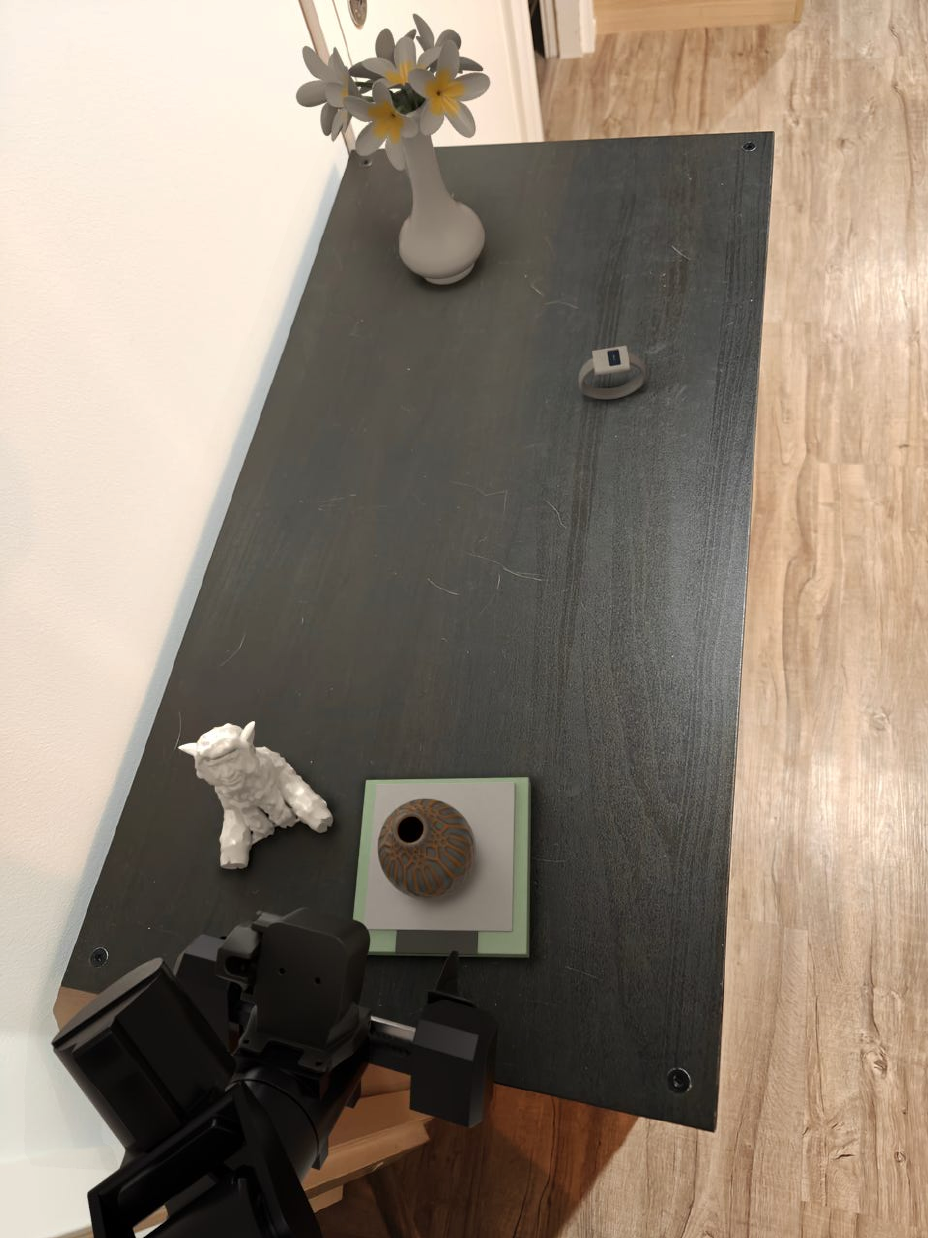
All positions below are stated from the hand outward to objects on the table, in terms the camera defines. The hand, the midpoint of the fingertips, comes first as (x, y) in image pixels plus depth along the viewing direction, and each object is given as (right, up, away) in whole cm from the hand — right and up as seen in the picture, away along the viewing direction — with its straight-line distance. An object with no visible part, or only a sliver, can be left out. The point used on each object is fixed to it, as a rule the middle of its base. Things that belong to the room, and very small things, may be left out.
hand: (387, 939), depth 61 cm
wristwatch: (+19, +42, +30) cm, 55 cm away
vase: (+3, +2, +10) cm, 11 cm away
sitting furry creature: (-11, +5, +17) cm, 21 cm away
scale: (+3, +2, +12) cm, 12 cm away
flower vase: (+2, +59, +43) cm, 73 cm away
